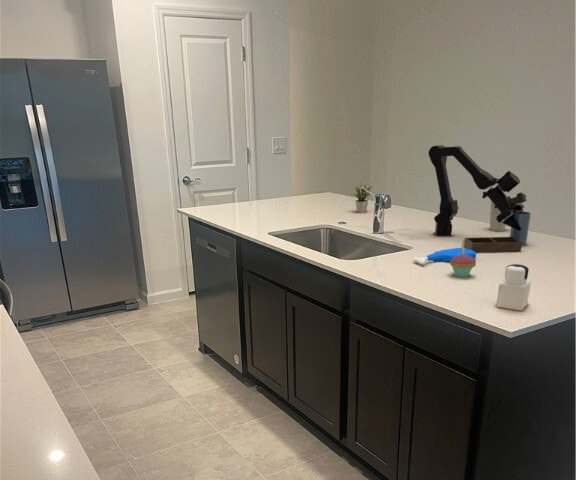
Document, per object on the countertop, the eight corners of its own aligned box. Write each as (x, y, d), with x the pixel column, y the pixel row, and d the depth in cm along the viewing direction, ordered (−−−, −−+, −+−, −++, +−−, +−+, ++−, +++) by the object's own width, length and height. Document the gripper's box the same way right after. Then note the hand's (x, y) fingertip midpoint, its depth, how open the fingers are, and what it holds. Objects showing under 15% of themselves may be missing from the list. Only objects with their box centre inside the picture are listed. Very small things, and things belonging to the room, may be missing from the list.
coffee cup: (507, 228, 261) (512, 196, 255) (508, 232, 252) (512, 199, 247) (486, 227, 264) (490, 195, 258) (486, 231, 255) (490, 198, 250)
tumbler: (512, 245, 228) (516, 214, 223) (506, 242, 234) (510, 211, 229) (528, 245, 228) (533, 214, 223) (522, 241, 234) (526, 211, 229)
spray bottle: (460, 246, 217) (408, 254, 208) (479, 252, 207) (425, 260, 199) (459, 253, 218) (407, 261, 210) (478, 259, 209) (425, 268, 200)
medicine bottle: (502, 300, 166) (508, 261, 161) (527, 304, 162) (533, 264, 157) (496, 306, 160) (501, 267, 156) (521, 311, 156) (527, 270, 152)
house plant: (376, 214, 301) (378, 183, 295) (351, 214, 301) (352, 184, 295) (373, 209, 314) (374, 180, 308) (349, 210, 314) (350, 181, 308)
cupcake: (445, 272, 194) (448, 238, 190) (468, 271, 195) (472, 237, 190) (454, 279, 186) (458, 244, 182) (478, 278, 187) (482, 243, 182)
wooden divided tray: (471, 252, 219) (472, 243, 218) (463, 246, 229) (464, 237, 227) (520, 251, 219) (522, 242, 218) (510, 245, 229) (512, 236, 227)
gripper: (508, 189, 218) (532, 219, 216) (522, 184, 231) (546, 212, 229) (486, 207, 225) (509, 237, 223) (501, 201, 239) (523, 229, 237)
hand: (523, 228), depth 228 cm, fingers closed on tumbler, 7 cm apart
